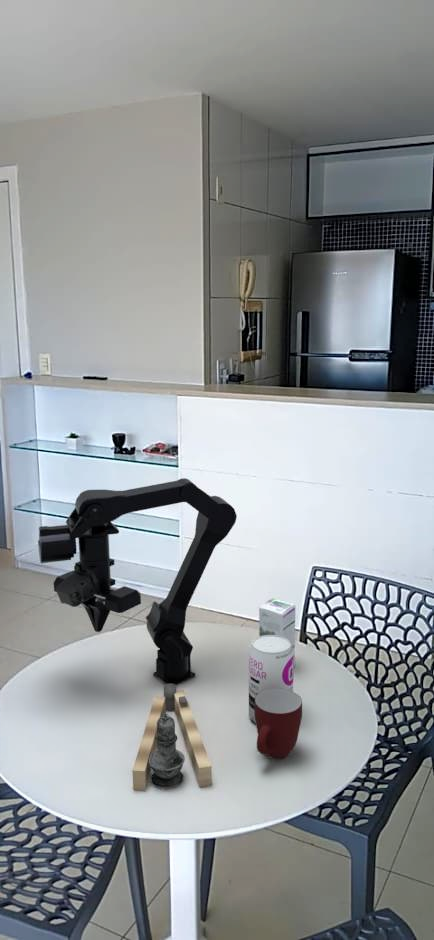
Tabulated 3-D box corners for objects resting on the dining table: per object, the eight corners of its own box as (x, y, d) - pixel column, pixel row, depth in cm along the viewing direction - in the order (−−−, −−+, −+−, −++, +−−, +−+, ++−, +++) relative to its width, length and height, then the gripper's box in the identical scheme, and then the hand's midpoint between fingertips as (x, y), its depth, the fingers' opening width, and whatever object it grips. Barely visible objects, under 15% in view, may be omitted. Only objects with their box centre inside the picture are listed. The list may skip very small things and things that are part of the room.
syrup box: (295, 666, 155) (296, 603, 152) (281, 678, 151) (282, 612, 147) (272, 659, 159) (273, 596, 155) (257, 670, 154) (258, 606, 150)
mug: (287, 781, 119) (288, 726, 116) (241, 768, 122) (241, 714, 120) (307, 745, 128) (308, 694, 126) (264, 734, 131) (264, 684, 129)
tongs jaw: (155, 713, 138) (154, 696, 138) (165, 713, 138) (165, 696, 137) (133, 789, 117) (132, 770, 116) (145, 790, 117) (144, 771, 116)
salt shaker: (149, 768, 122) (147, 703, 120) (184, 765, 123) (183, 701, 120) (149, 791, 117) (146, 724, 114) (186, 788, 117) (184, 721, 114)
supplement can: (298, 711, 139) (299, 638, 135) (283, 734, 132) (284, 657, 128) (258, 701, 142) (258, 630, 139) (241, 723, 135) (241, 649, 131)
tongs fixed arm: (163, 705, 141) (162, 684, 140) (182, 702, 142) (182, 681, 141) (188, 789, 117) (187, 764, 116) (211, 785, 118) (211, 760, 117)
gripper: (29, 558, 140) (34, 633, 144) (98, 580, 129) (102, 660, 133) (73, 542, 149) (77, 614, 152) (141, 561, 138) (144, 638, 141)
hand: (98, 631), depth 144 cm, fingers closed
